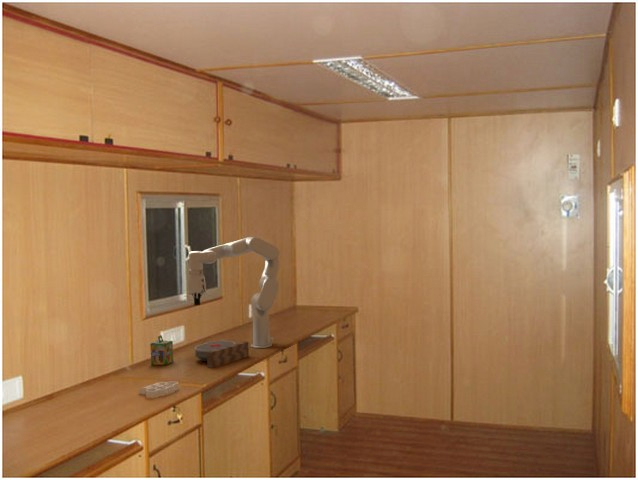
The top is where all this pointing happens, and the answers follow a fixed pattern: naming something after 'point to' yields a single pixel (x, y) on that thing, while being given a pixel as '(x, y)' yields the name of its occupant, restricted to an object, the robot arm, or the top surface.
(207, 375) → the top surface
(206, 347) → the first aid kit
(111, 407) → the top surface
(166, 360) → the chalk box
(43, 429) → the top surface
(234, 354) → the walnut board
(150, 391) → the white muffin tray
